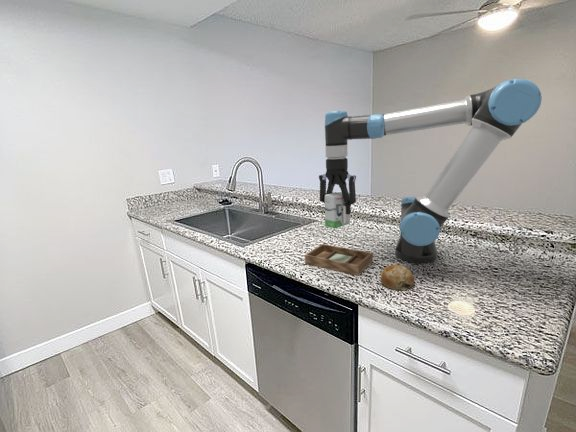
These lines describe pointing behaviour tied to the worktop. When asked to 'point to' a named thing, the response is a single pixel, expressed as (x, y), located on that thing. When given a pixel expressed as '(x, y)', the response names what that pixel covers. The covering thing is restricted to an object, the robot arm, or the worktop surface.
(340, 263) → the tray
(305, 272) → the worktop surface
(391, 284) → the bread roll
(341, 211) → the ink box
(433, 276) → the worktop surface
